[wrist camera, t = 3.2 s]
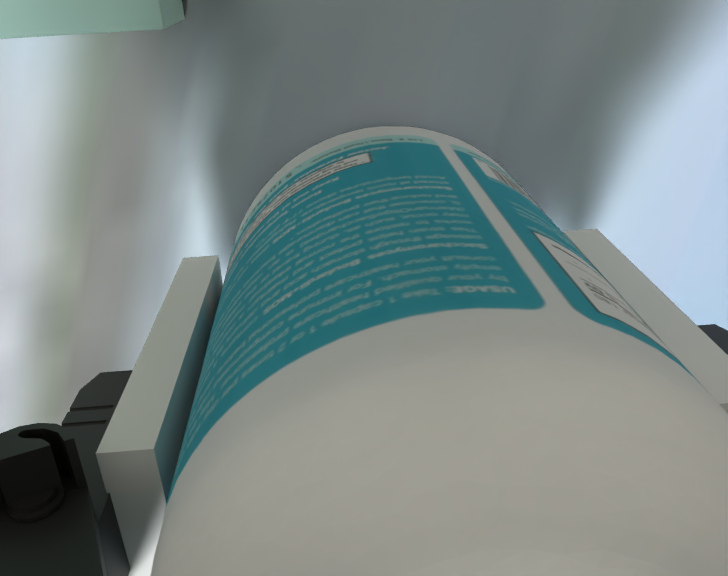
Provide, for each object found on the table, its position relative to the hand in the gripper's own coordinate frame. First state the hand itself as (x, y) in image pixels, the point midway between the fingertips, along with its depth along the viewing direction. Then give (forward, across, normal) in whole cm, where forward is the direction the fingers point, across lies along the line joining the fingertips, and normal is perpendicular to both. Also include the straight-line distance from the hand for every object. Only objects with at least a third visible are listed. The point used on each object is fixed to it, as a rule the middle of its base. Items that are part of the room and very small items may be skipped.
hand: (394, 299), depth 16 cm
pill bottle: (+2, 0, 0) cm, 2 cm away
